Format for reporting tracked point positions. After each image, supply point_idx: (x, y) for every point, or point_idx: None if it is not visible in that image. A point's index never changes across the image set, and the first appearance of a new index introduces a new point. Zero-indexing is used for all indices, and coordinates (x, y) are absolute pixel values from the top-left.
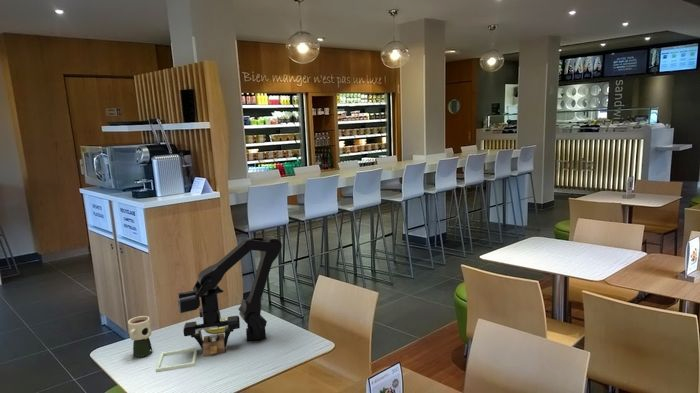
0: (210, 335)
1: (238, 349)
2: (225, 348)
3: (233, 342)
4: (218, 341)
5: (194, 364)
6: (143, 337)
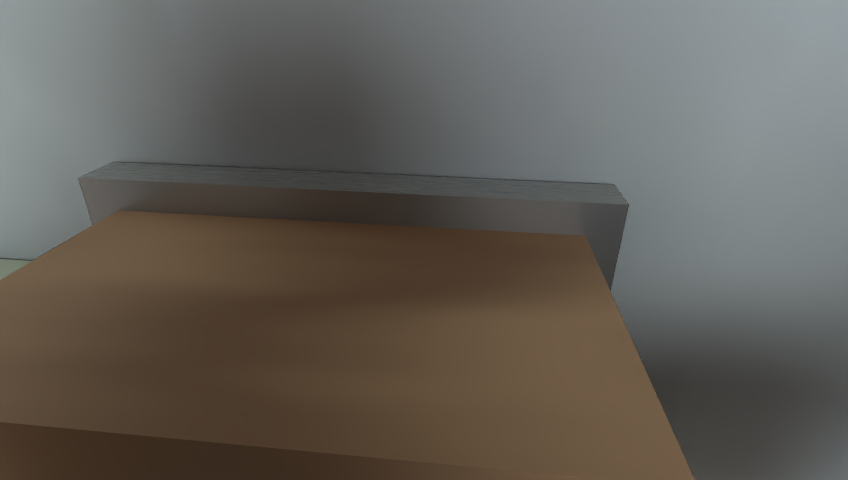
0: (56, 436)
1: (788, 443)
2: None
3: (814, 89)
4: None
5: None
6: None
